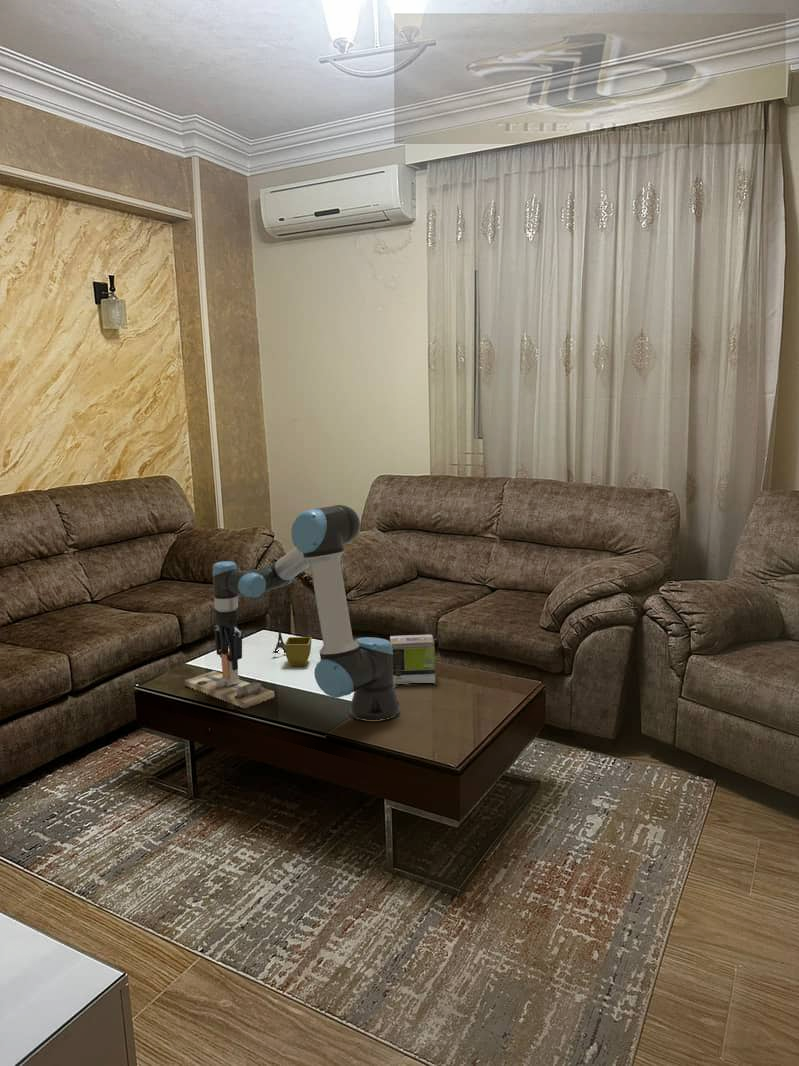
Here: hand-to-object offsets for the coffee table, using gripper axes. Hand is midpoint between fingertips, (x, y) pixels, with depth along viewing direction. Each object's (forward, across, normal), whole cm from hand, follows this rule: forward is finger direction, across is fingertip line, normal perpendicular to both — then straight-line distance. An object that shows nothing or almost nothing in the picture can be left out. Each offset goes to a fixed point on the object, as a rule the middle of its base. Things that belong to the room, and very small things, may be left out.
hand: (230, 677), depth 256 cm
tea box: (+5, -41, -45) cm, 61 cm away
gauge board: (+5, 0, +1) cm, 5 cm away
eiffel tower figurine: (+5, +19, -38) cm, 42 cm away
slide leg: (+2, 0, +2) cm, 3 cm away
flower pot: (+5, +2, -32) cm, 32 cm away
